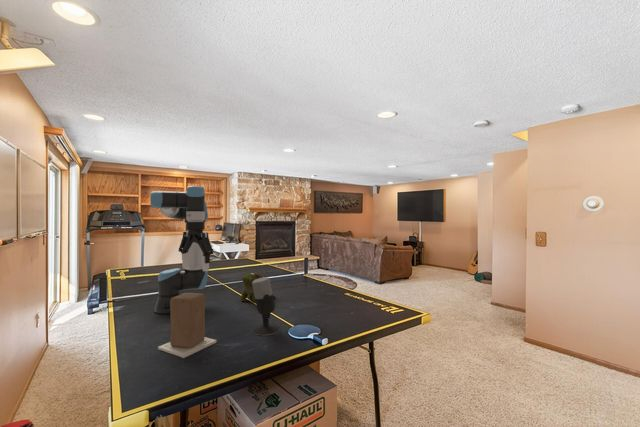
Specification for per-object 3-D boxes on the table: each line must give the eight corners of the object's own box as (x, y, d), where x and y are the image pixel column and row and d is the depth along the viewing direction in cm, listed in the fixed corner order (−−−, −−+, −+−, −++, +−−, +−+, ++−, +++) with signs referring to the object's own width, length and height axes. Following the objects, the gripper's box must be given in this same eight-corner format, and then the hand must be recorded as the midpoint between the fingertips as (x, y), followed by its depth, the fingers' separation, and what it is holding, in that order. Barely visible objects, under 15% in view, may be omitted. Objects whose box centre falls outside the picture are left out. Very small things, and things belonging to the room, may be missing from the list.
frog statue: (267, 303, 202) (255, 303, 178) (245, 301, 204) (230, 300, 181) (270, 275, 208) (259, 271, 184) (249, 273, 210) (235, 269, 186)
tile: (158, 349, 121) (158, 346, 121) (191, 335, 135) (191, 332, 135) (183, 358, 114) (183, 355, 114) (216, 342, 128) (216, 339, 128)
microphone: (251, 326, 146) (251, 276, 146) (277, 324, 149) (277, 274, 150) (252, 337, 133) (252, 281, 134) (281, 333, 137) (281, 279, 137)
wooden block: (190, 349, 119) (190, 299, 119) (169, 346, 121) (169, 297, 121) (205, 339, 128) (205, 293, 129) (185, 337, 131) (185, 291, 131)
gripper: (170, 220, 134) (170, 267, 134) (207, 221, 121) (207, 273, 121) (184, 220, 140) (184, 265, 140) (222, 221, 128) (222, 270, 128)
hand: (195, 269), depth 131 cm, fingers open, 13 cm apart
